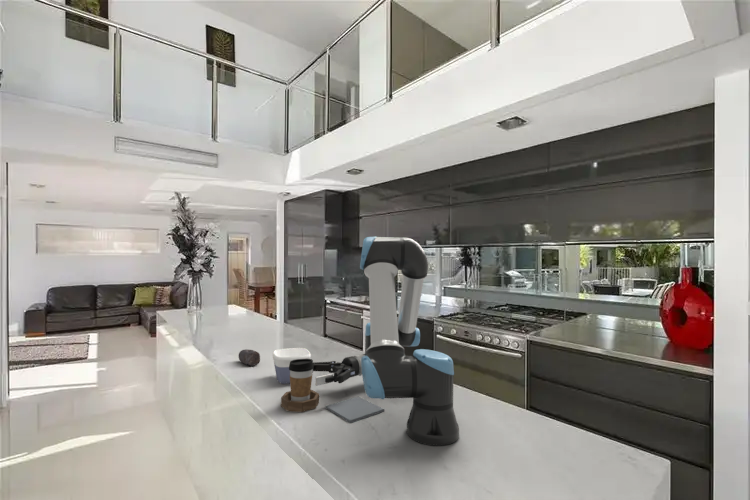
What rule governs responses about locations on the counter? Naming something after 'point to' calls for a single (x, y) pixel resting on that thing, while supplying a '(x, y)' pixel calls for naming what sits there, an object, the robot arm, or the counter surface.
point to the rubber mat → (354, 409)
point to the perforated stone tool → (249, 357)
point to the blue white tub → (287, 361)
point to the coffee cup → (300, 379)
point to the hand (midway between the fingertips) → (305, 376)
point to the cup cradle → (299, 402)
